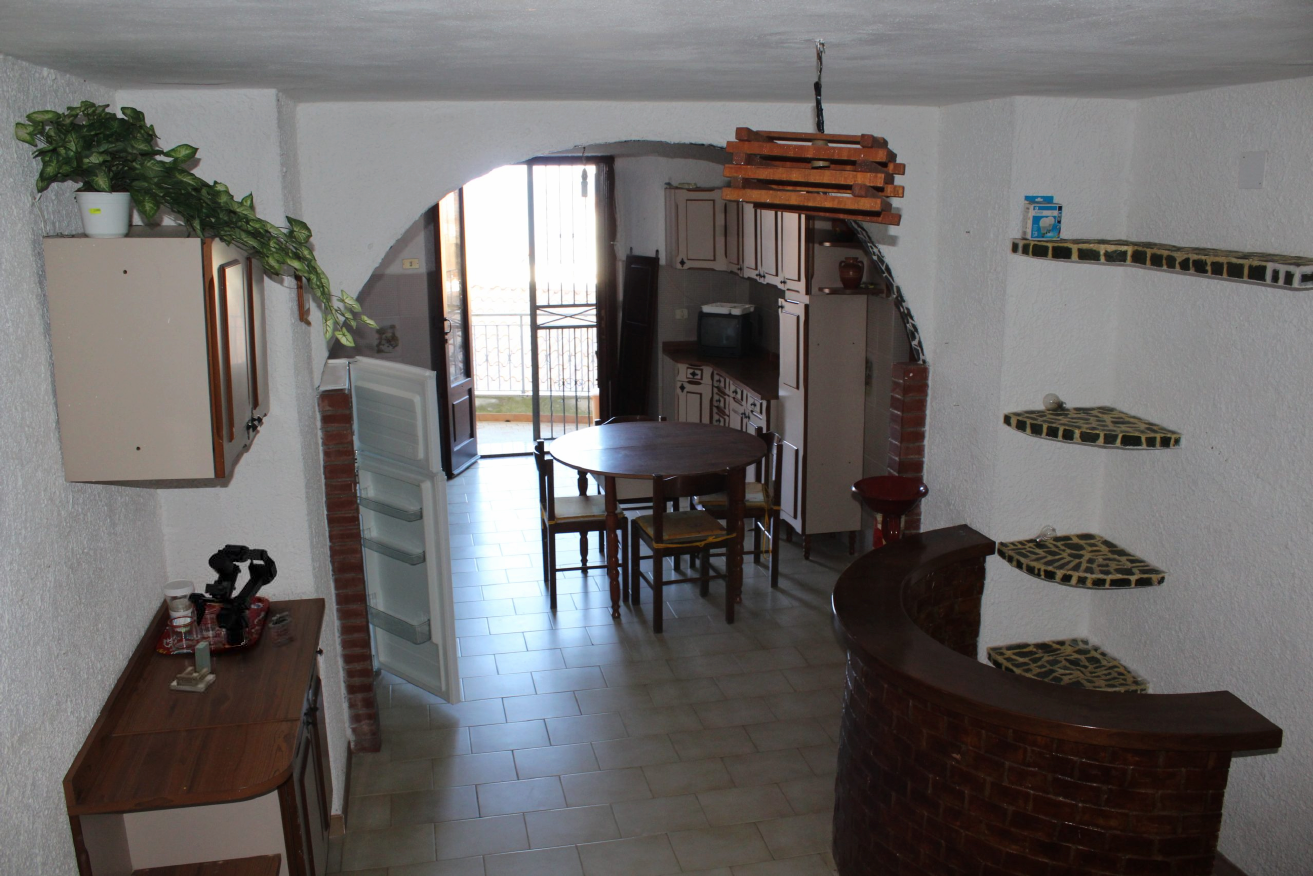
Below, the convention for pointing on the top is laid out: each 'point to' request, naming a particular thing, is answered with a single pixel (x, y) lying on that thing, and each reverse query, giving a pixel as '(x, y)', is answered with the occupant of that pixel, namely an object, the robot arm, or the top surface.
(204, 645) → the plank
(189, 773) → the top surface
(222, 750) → the top surface
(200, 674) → the groove base
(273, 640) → the lighter
